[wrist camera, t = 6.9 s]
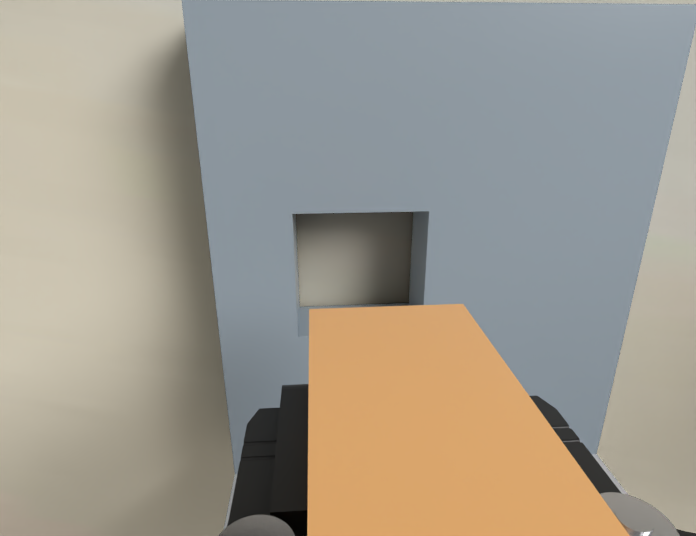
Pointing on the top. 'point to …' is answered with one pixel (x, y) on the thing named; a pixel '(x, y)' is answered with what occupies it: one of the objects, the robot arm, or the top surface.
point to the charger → (432, 434)
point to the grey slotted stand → (438, 172)
